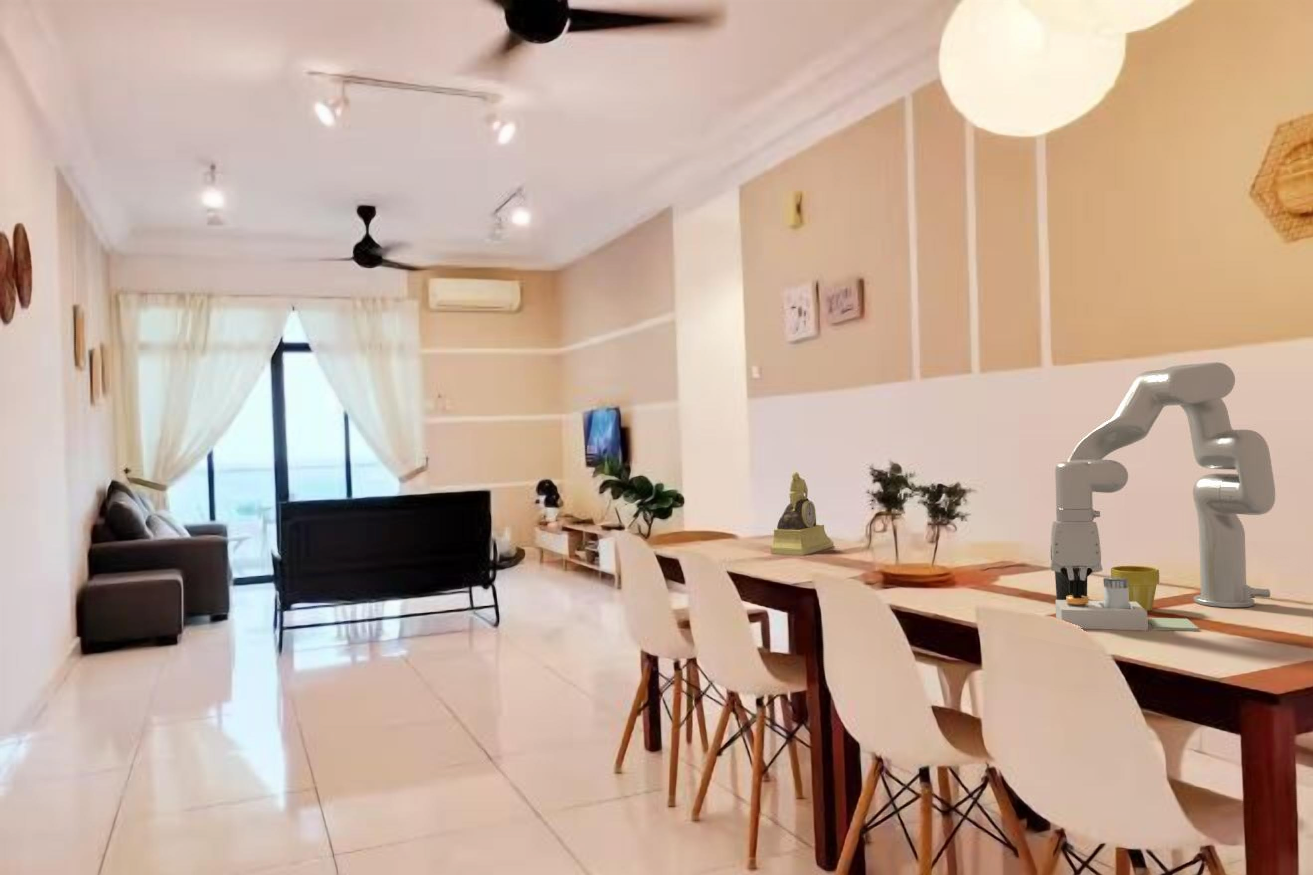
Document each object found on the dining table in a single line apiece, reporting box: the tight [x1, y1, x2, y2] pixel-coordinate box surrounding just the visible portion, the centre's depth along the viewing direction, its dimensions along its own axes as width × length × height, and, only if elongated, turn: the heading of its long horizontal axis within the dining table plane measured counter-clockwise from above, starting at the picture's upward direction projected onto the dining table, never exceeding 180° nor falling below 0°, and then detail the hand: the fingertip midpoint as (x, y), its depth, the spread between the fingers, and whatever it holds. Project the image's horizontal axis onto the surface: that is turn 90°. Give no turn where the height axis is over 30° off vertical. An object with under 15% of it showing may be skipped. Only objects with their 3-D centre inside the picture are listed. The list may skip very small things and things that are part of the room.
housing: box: [1055, 599, 1149, 631], centre depth 205 cm, size 17×12×4 cm
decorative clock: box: [770, 471, 834, 556], centre depth 346 cm, size 28×13×30 cm, turn 146°
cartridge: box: [1103, 577, 1129, 609], centre depth 204 cm, size 5×5×10 cm
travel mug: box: [1054, 566, 1088, 600], centre depth 233 cm, size 8×8×20 cm
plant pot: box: [1110, 565, 1160, 612], centre depth 220 cm, size 10×10×10 cm
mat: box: [1147, 617, 1200, 632], centre depth 201 cm, size 8×10×1 cm
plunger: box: [1066, 595, 1090, 607], centre depth 207 cm, size 5×5×4 cm
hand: (1076, 596), depth 207 cm, fingers closed
